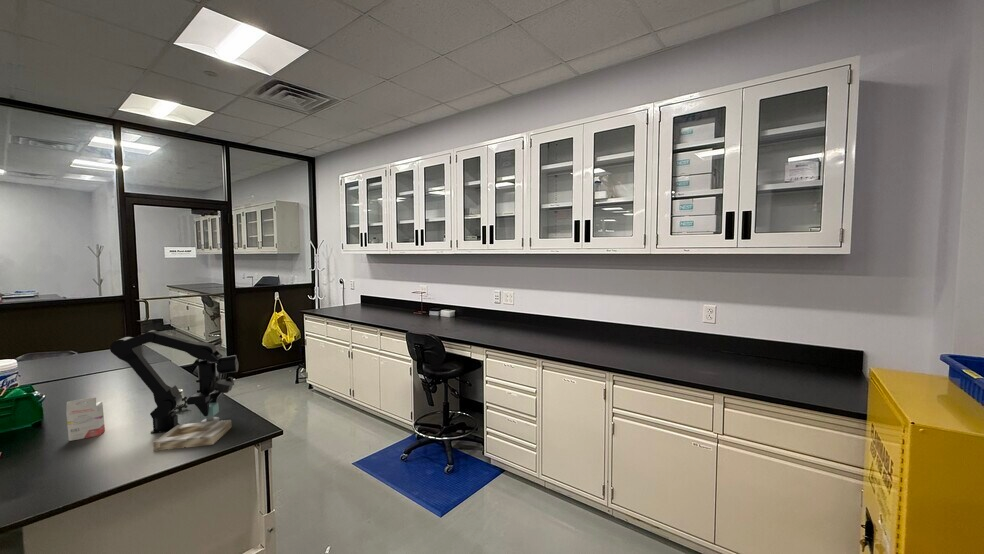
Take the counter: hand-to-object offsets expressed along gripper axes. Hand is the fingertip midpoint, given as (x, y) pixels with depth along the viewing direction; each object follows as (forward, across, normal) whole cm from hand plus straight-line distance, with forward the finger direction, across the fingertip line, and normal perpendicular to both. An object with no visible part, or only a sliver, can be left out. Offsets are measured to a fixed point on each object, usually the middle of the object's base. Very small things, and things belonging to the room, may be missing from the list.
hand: (209, 413), depth 152 cm
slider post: (+4, 0, 0) cm, 4 cm away
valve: (+4, +22, +22) cm, 31 cm away
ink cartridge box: (+4, -2, +40) cm, 40 cm away
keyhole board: (+4, -15, -2) cm, 16 cm away
